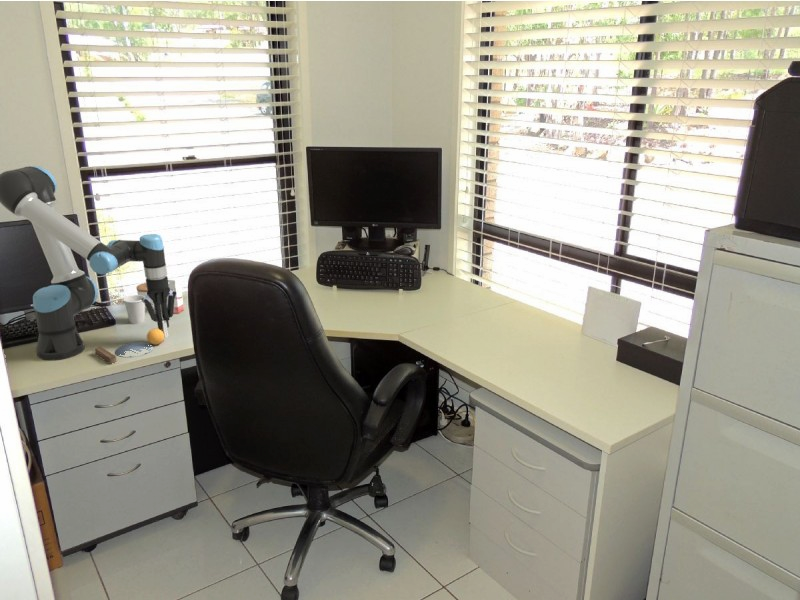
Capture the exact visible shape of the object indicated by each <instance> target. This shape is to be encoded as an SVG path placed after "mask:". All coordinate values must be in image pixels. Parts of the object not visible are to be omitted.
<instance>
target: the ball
mask: <svg viewBox="0 0 800 600" xmlns="http://www.w3.org/2000/svg"><path fill="white" fill-rule="evenodd" d="M146 339H147V342H148V343H150V344H152V345H153V346H154V345H159V344H162V342H163V341H164V339H165V338H164V333H163V332H162V331H161V330H160V329H159V328H152V329H150V330H149V331H148V333H147V335H146Z"/></svg>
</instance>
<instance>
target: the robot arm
mask: <svg viewBox="0 0 800 600" xmlns="http://www.w3.org/2000/svg"><path fill="white" fill-rule="evenodd" d="M57 188H58V187H57V180H56V179H55V177H54V175H53V174H52V173H51V172H50V171H49V170H48V169H45V168H43V167H42V166H37V165H33V166H24V167H21V168H16V169H10V170H5V171H3V172H1V173H0V204H1V205H2V207H4V208H5V209H6V210H8V211H9V212H11V213H12V214H13V215H15V216H16V217H24V219H26V220H27V221H30V223H31V224H32V226H33V229H34V232H35V234H36V237H37V239H38V242H39V244H40V247H41V249H42V252H43V254H44V256H45V258H46V262H47V263H48V266H49V269H50V271H51V273H52V279H51V281H50V283H51V285H48V286H44V287H41V288H39V289H37V291H35V292H34V293H33V296H32V306H33V307H32V308H33V310H34V316H35V320H36V325H37V330H38V337H37V338H38V339H37V344H36V349H35V351H36V356H37V357H38V358H39V359H41V360H45V361H46V360H47V361H57V360H58V361H59V360H64V359H69V358H72V357H75V356H77V355H79V354H81V353H82V352H84V350H85V344H84V340H83V339H82V336H81V335H80V333H79V332H78V330H77V328H76V321H75V316H77V315H78V314H80V313H81V312H83V311H84V310H87V309H88V308H91V306H92V305H94V303H95V302H96V301H97V299H98V295H99V289H98V286H97V284H96V282H95V281H94V280H93V279H91V278H90V277H88V276H87V275H86V273H85V271H83V270H81V269H80V268H79V267H78V265H77V262H76V260H75V259H76V258H75V257H74V254H73V252H75V253H77V254H78V255H80V256H81V257H82V258H84V259H86V260H87V261H88V263H89V267H90V268H91V269H92V271H93V272H94V273H96V274H99V275H106V274H109V273H112V272H114V271H115V270H116V269H118V268H120V267H122V266H124V265H126V264H127V263H129V262H142V264H143V270H144V276H145V283H146V285H147V290H148V291H147V296H146V297H145V298H142V299H141V300H142V302H143V303H145V309H146V310H147V313H148V314H149V317H150V319H151V321H153V322H155V323H156V322H157V329H160V330H161V331H162V332H163V333H164V339H167V338H168V337H169V332H168V328H169V327H170V320H171V319H170V318H172V317H173V316H174V313H173V309H174V299H175V296H176V292H175V291H173V290H170V288H169V286H168V285H169V284H168V283H169V282H168V280H169V279H168V276H167V275H168V271H167V264H166V263H167V262H166V258H165V246H164V242H163V237H162V236H161V235H160V234H158V233H151V234H148V233H147V234H143V235H141V236H140V237H139V240H131V239H130V240H127V239H117V240H110V241H108V244H107V245H106V244H105V243H103V242H101V241H100V240H99V239H97V238H96V237H94V236H93V235H91V234H90V233H89V232H87V231H85V230H84V229H83V228H82V227H80V226H79V225H77V224H75V223H74V222H72V221H71V220H69V219H68V218H67V217H66V216H64V215H62V214H61V213H60V212H58V211H56V209H55V205H56V202H57V199H56V197H55V193H56V190H57ZM168 295H169V296H168ZM167 296H168V305H167ZM150 299H151V300H153V303H154V304H153V306H154V308H153V306H152V305H151V303H150ZM160 304H161V306H160ZM161 311H162V312H161Z"/></svg>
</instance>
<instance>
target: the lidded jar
mask: <svg viewBox="0 0 800 600" xmlns="http://www.w3.org/2000/svg"><path fill="white" fill-rule="evenodd" d="M147 291H148V290H147V285H146V282H144V283H141V284H138V285H136V292H137V295H143V296H145V297H146V296H147ZM150 303H151V305H153V306H154V303H153V300H151V299H150Z"/></svg>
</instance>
